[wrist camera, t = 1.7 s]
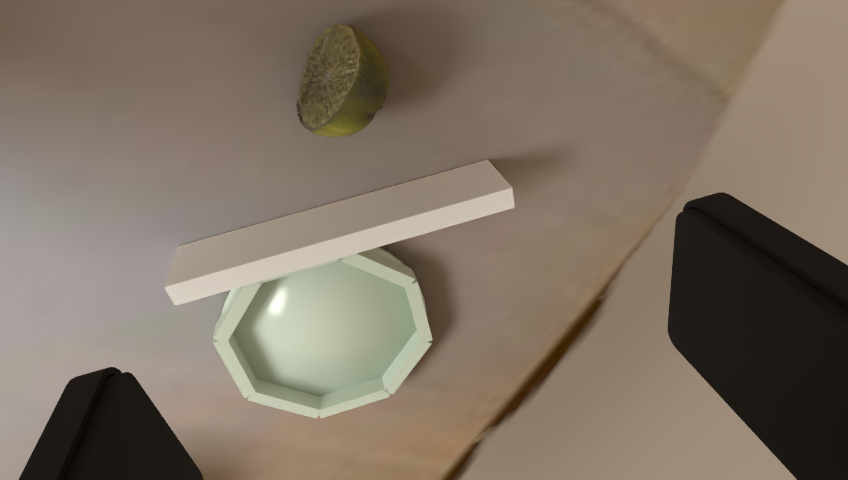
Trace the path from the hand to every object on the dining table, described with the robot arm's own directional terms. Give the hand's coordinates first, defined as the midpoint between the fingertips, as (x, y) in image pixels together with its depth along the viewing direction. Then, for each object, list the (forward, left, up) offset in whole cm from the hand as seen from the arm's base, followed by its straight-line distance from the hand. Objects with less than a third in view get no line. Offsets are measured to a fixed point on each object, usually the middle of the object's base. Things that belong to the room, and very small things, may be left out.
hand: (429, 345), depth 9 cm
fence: (+7, -2, -21) cm, 22 cm away
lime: (0, 0, -21) cm, 21 cm away
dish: (+15, -5, -21) cm, 26 cm away
